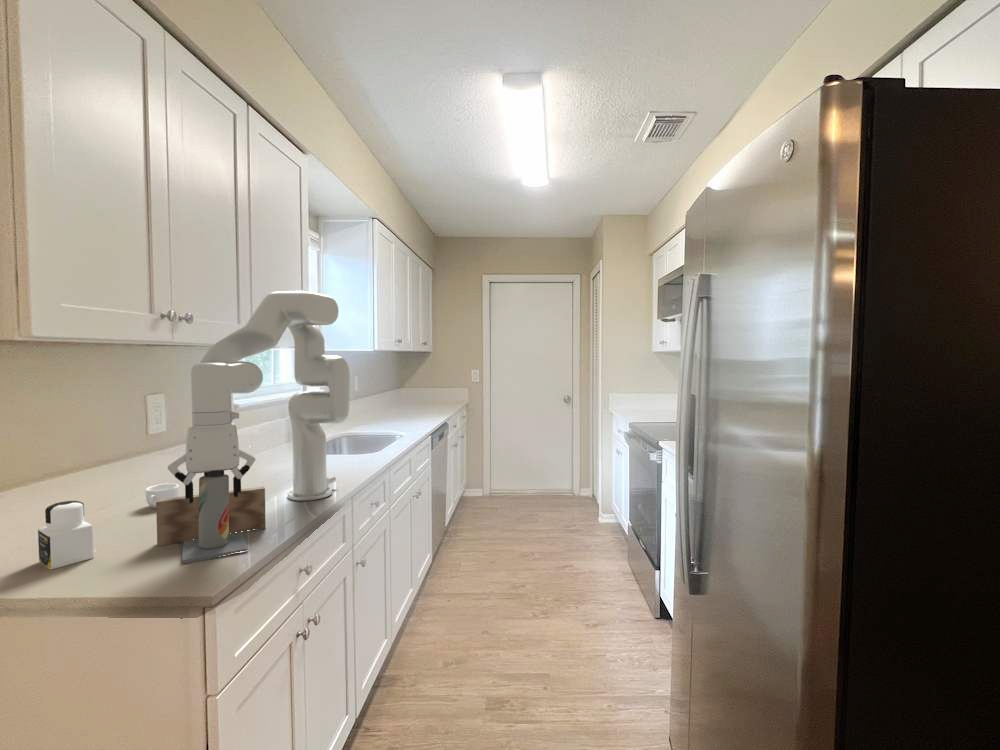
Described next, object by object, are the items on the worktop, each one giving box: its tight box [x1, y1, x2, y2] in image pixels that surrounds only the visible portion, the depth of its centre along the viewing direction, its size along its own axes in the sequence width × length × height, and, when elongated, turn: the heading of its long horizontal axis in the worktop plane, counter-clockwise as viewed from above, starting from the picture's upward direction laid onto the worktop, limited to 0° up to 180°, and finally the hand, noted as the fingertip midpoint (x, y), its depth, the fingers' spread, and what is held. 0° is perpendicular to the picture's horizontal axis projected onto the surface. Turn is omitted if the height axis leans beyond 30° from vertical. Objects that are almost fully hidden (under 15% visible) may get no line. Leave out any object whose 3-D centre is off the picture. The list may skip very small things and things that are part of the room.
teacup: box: [145, 483, 180, 509], centre depth 139 cm, size 10×8×5 cm
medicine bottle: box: [37, 500, 95, 571], centre depth 103 cm, size 7×7×12 cm
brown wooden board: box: [155, 486, 266, 547], centre depth 117 cm, size 22×2×10 cm, turn 121°
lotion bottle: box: [198, 470, 230, 549], centre depth 109 cm, size 6×6×20 cm
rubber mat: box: [181, 532, 249, 565], centre depth 110 cm, size 12×12×1 cm
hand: (213, 498), depth 109 cm, fingers open, 8 cm apart
